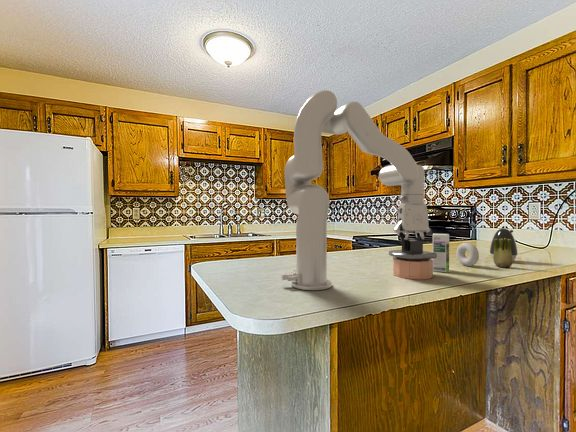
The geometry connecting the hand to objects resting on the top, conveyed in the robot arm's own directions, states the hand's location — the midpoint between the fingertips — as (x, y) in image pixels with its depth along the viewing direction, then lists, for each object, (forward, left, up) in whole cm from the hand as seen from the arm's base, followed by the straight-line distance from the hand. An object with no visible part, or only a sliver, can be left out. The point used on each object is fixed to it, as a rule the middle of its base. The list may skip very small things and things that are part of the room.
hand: (412, 249), depth 104 cm
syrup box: (+16, +4, -10) cm, 19 cm away
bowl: (0, 0, -9) cm, 9 cm away
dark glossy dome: (+60, +14, -10) cm, 62 cm away
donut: (+34, +9, -10) cm, 37 cm away
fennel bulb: (+46, +3, -10) cm, 47 cm away
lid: (0, 0, -2) cm, 2 cm away
